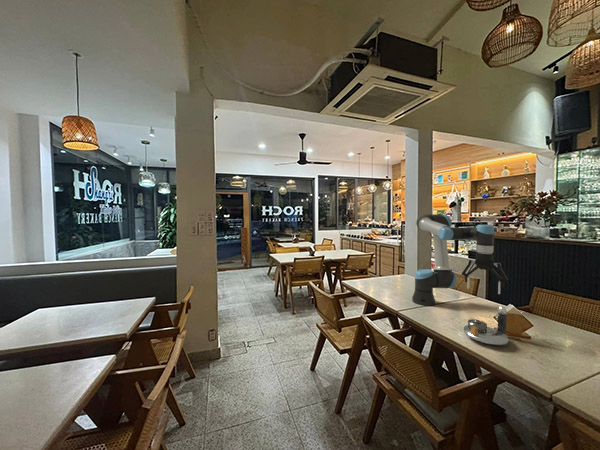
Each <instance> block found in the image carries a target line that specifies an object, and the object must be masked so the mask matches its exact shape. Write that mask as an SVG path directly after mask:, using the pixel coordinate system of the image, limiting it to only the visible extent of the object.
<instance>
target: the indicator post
mask: <svg viewBox="0 0 600 450" xmlns="http://www.w3.org/2000/svg"><path fill="white" fill-rule="evenodd" d="M496 312H497V314H494V317H495V318H496V317H497V330H498V331H500V332H502V333H504V334H505V335H506V336H507V334H506V333H507V332H506V331H507V309H506V308H505V307H504V306H501V305H500V306H497V308H496Z"/></svg>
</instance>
